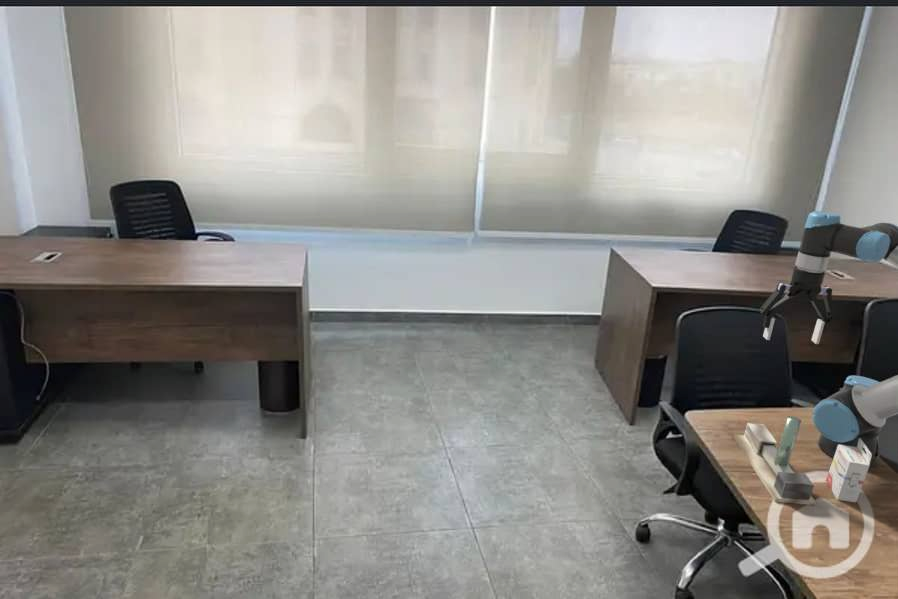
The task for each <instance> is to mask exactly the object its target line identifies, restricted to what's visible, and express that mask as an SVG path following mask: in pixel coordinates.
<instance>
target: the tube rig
mask: <svg viewBox="0 0 898 599" xmlns="http://www.w3.org/2000/svg"><path fill="white" fill-rule="evenodd" d="M733 439H734V441H735V442H736V444H737V445H738V446H739V448H740V450H741V451H742V453H743V455H744V456H745V458H746V459H747V461H748V463H749V464H750V465H751V467H752V468H753V470H754V472H755V473H756V474H757V477H758V478H759V479H760V481H761V482H762V484H763V485H764V487H765V488H766V491H767V492H768V493H769V494H770V497H772V500H773V501H774V502H776V503H777V502H778V503H787V504H796V505H797V504H798V505H806V506H807V505H810V506H816V504H817V502H816V500H815V499H814V497H813V496H812V493H813V490H814V486H815V485H814V483H813V482H812V480H811V479H810V478H809V477H808V475H807V474H806V473H797V472H794V470H793V469H792V468H791V466H790V465H789V464H788V466H789V467H790V468H791V470H792V471H793V472H794V473H787V472H778V474H777V475H776V474H775V473H774V471H773V470H772V468H771V467H770V465H769V464H768V462H767V461H766V460H765V458H764V457H763V455H762V454H761V452H760V447H761V444H762V443H772V444H773V445H774V447H775V448H776V447H777V444H778V442H777V441H776V439H775V438H774V435H772V433H771V432H770V431H769V430H768V428H767V427H766V425H764V423H758V422H757V423H755V422H747V423H746V428H745V431H744V434H736V433H734V434H733ZM776 449H777V448H776ZM777 451H778V449H777Z"/></svg>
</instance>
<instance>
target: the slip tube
mask: <svg viewBox="0 0 898 599" xmlns="http://www.w3.org/2000/svg"><path fill="white" fill-rule="evenodd" d="M801 423H802V420H801V419H800V418H798V416H797V417H796V416H793V415H788V416H787V418H786V421H785V425H784V428H783V431H782V434H781V438H780V441H779V444H778V448H775V447H774V445H773V444H772V443H762V444H761V447H760V452H761V454H762V455H763V457H764V458H765V460H766V461H767V462H768V464H769V465H770V467H771V468H772V470H773V471H774V473H775V474H776V475H777V474H778V472H787V473H795V472H794V470H793V469H792V468H791V466H790V465H789V462H790V458H791V456H792V452H793V449H794V446H795V443H796V439H797V435H798V433H799V430H800V426H801ZM777 450H778V451H777ZM788 465H789V466H790V467H789V466H788ZM791 469H792V470H793V471H792V470H791Z"/></svg>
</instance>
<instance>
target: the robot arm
mask: <svg viewBox="0 0 898 599" xmlns="http://www.w3.org/2000/svg"><path fill="white" fill-rule="evenodd" d="M831 252H832V253H835V254H840V255H844V256H848V257H850V258H851V257H852V258H855V259H859V260H861V261H869V262H873V263H878V262H881V261H883V260H885V261H886V262H888V263H890V265H893V266H894V267H895V268H897V269H898V226H897V225H896V224H895V223H891V222H879V223H875V224H873V225H868V226H865V227H864V226H863V227H857V226H854V225H853V226H852V225H849V224H848V225H847V224H843V223H841V216H840V214H837V213H834V212H832V211H831V212H829V211H823V210H822V211H821V210H820V211H819V210H815V211H814V210H813V211H812V212H810V213H809V214H808V216H807V219H806V222H805V225H804V228H803V233H802V237H801V241H800V246H799V248H798V253H797V256H796V259H795V266H794V267H793V271H792V275H791V279H790V280H791V281H790V283H789V284H784V283H783V282H778V283H777V285H776V288H775V290H774V291H773V292H772V294H771V295H770V296H769V297H768V298H767V299H766V301H765V302H764V303H763V304H762V306H761V307H760V308H759V310H758V312H759V313H760V314H761V315H763V316H764V319H763V323H762V326H763V327H764V331H763V334H762V337H763V338H764V339H765V340H766V341H770V340H771V336H772V333H773V328H774V325H775V321H776V318H775V316H776V315H777V314H778V313H779V312H781V311H782V310H784V309H785V308H786V307H787V306H789V305H790V304H792V303H794V302H795V301H796V302H800V303H801V302H805V303H809V302H811V304H812V306H813V307H814V309H815V311H816V313H817V315H818V316H819V317H820V318H817V320H816V323H815V326H814V328H813V329H814V330H813V333H812V336H811V341H812V342H813V343H814V344H815V345H819V344H820V341H821V337H822V334H823V333H825V332H826V330H827V327H828V324H831V322H832V321H833V322H835V321H837V314H836V310H835V305H834V302H833V298H832V295H833V289H832V288H830V287H829V286H828V285H824V286H822V284H823V282H824V278H825V276H826V273H825V271H827V268H828V265H829V261H830V256H831V254H832V253H831ZM787 291H788V292H787ZM786 292H787V293H786ZM785 293H786V294H785ZM820 294H821V295H822V298H823V303H824V305H825V306H824V307H825V310H826V311H825V310H824V308H823V306H822V305H821V303H820V300H819V298H818V297H817V296H819V295H820ZM782 296H783V297H782ZM843 383H844V384H843V387H842V389H841V390H839V391H837V392H835V393H833V394H832V395H830V396H828V397H826V398H824V399H822V400H820V401H819V402H818V403H817V404H816V405H815V407H814V408H813V412H812V420H813V424H814V426H815V428H816V430H817V431H818V432H819V433H820V436H819V438H818V442H817V445H818V447H819V449H820V450H821V451H822V452H823V453H824V454H826V455H827V456H829V457H830V458H832V459H833V458H834V455H835V452H836V449H837V446H838V444H839V445H846V446H852V447H857V445H858V440H859V438H861V440H862V441H863V443H864V444H865V445H866V447H867V448H868V450H869V451H870V452H871V454H872V457H871V461H870V466H869V468H871V467H874V466H876V465H877V464H878V460H879V457H880V444H879V435H880V433H881V430H882V427H884V426H885V425H886V421H887V419H888V418H891V417H893V416H896V415H898V374H897V375H894V376H891V377H890V378H887V379H885V380H882V381H878V380H875V379H872V378H869V377H866V376H861V375H848V376H847V377H846V379H845V381H843ZM862 449H863V451H864V452H865V454H866V451H865V448H863V447H862Z"/></svg>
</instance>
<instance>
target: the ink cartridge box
mask: <svg viewBox="0 0 898 599" xmlns="http://www.w3.org/2000/svg"><path fill="white" fill-rule="evenodd" d="M862 447H863V448H865V451H866V454H865V452H864V451H863V449H862ZM871 457H872V454H871V452H870V451H869V450H868V448H867V447H866V445H865V444H864V443H863V441H862V440H861V438H859V440H858V445H857V447H852V446H846V445H839V444H838V446H837V449H836V452H835V455H834V458H832V461H831V464H830V468H829V471H828V473H827V476H826V479H825V481H826V483H827V484H828V486H829V488H830V490H831V492H832V493H833V496H834V497H835V499H836V500H838V501H844V502H850V503H857V501H858V498H859V496H860V494H861V490H862V488H863V484H864V482H865V479H866V476H867V474H868V471H869V468H870V467H869V466H870V461H871Z"/></svg>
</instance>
